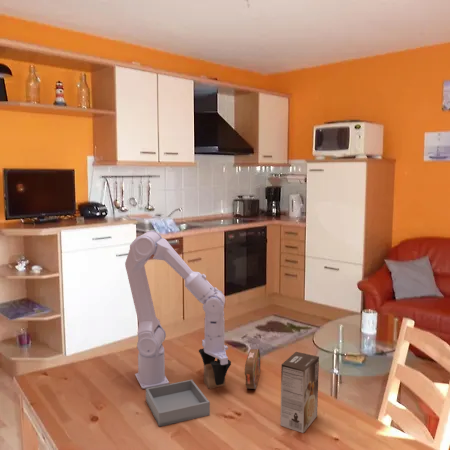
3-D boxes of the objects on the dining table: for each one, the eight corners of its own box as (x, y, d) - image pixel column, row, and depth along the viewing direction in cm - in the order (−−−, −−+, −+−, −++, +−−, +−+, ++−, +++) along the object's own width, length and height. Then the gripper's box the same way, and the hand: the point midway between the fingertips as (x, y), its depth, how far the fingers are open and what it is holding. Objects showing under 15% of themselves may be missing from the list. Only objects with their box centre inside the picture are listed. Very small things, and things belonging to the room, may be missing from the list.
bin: (145, 400, 121) (145, 388, 120) (192, 391, 126) (191, 379, 126) (159, 426, 109) (159, 413, 108) (209, 414, 114) (209, 402, 114)
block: (203, 382, 131) (203, 365, 130) (219, 379, 133) (219, 361, 132) (209, 389, 127) (208, 370, 127) (225, 385, 130) (225, 367, 129)
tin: (254, 394, 124) (254, 366, 123) (243, 393, 125) (243, 365, 124) (261, 370, 139) (261, 344, 138) (251, 369, 140) (251, 343, 139)
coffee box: (294, 408, 117) (296, 350, 115) (317, 416, 114) (320, 356, 112) (279, 426, 109) (280, 363, 107) (304, 434, 106) (306, 370, 104)
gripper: (238, 340, 123) (237, 386, 125) (217, 323, 136) (217, 365, 138) (214, 344, 120) (214, 391, 122) (195, 326, 134) (195, 369, 135)
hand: (214, 378), depth 130 cm, fingers open, 7 cm apart
